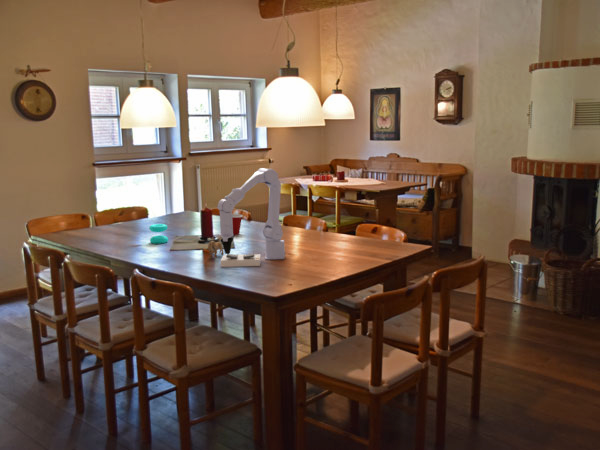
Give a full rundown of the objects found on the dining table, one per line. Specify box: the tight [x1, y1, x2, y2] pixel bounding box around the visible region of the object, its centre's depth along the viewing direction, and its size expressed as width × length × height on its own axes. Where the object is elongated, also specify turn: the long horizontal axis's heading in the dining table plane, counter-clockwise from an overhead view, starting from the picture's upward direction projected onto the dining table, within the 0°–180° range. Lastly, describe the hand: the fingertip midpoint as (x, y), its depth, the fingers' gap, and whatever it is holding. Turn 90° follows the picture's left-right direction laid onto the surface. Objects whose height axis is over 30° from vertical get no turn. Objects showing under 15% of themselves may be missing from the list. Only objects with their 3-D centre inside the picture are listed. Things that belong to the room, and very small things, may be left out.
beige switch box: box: [220, 253, 262, 268], centre depth 269 cm, size 18×11×3 cm, turn 91°
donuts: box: [149, 223, 169, 245], centre depth 321 cm, size 10×10×10 cm
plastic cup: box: [232, 213, 244, 236], centre depth 341 cm, size 11×11×12 cm
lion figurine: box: [207, 240, 224, 259], centre depth 284 cm, size 15×5×9 cm, turn 172°
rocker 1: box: [226, 253, 239, 259], centre depth 266 cm, size 5×4×2 cm
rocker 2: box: [243, 252, 255, 259], centre depth 266 cm, size 5×4×2 cm
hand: (227, 253), depth 266 cm, fingers closed
